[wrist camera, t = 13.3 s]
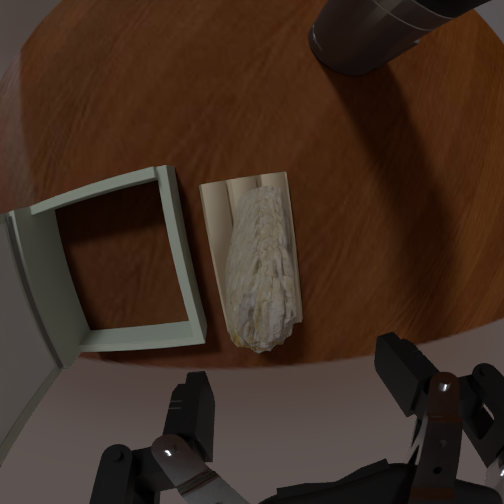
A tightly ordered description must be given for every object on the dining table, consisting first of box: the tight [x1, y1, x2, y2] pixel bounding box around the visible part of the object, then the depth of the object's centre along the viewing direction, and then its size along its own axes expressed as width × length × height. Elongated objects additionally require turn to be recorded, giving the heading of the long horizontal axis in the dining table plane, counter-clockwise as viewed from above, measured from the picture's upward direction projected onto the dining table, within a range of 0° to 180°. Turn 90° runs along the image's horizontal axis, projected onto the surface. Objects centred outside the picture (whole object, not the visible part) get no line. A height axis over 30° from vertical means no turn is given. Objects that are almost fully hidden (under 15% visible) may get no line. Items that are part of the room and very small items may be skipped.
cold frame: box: [0, 165, 207, 467], centre depth 17 cm, size 19×19×25 cm
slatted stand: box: [199, 172, 303, 332], centre depth 29 cm, size 9×17×2 cm, turn 9°
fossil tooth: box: [225, 186, 297, 353], centre depth 23 cm, size 12×6×15 cm
